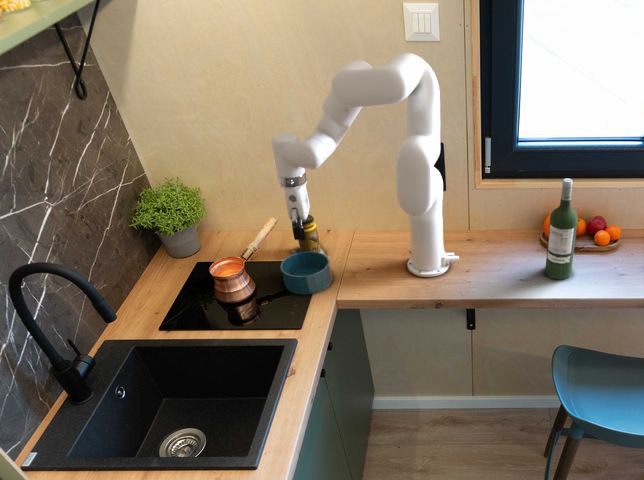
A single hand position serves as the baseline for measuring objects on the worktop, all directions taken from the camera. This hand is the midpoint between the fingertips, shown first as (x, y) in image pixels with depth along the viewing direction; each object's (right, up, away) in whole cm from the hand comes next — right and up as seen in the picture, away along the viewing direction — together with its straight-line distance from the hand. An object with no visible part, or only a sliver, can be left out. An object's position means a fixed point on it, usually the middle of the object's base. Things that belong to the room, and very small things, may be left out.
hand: (302, 231), depth 182 cm
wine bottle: (+78, -13, 0) cm, 79 cm away
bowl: (+4, -16, -7) cm, 18 cm away
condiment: (0, -6, +5) cm, 8 cm away
